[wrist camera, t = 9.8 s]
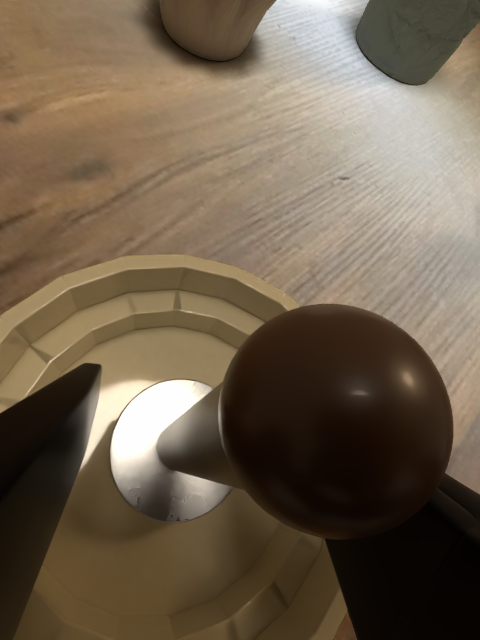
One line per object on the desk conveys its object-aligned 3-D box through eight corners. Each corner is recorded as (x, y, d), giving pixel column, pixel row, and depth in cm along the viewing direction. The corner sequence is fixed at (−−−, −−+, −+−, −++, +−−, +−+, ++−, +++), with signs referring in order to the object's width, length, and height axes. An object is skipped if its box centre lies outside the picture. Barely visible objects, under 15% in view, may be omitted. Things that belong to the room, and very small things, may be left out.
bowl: (165, 774, 12) (184, 942, 8) (-122, 468, 12) (-244, 473, 8) (366, 439, 18) (435, 434, 14) (171, 251, 19) (183, 194, 15)
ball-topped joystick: (174, 547, 13) (621, 1431, 1) (82, 450, 14) (-298, 398, 2) (257, 443, 16) (695, 393, 4) (177, 362, 16) (331, 59, 4)
